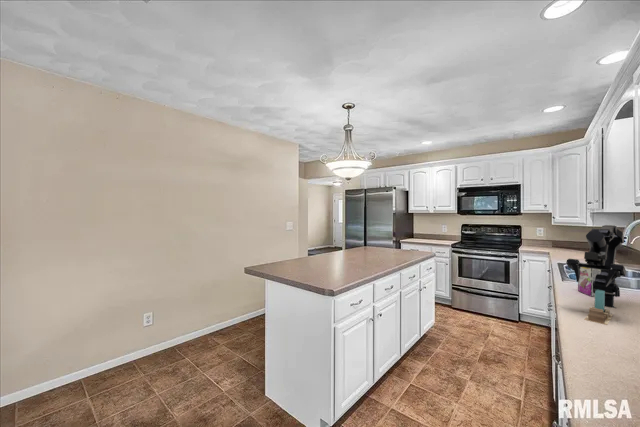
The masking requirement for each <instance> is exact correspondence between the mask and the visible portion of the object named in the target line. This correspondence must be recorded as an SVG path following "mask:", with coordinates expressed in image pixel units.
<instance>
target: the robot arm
mask: <svg viewBox="0 0 640 427" xmlns="http://www.w3.org/2000/svg"><path fill="white" fill-rule="evenodd" d="M585 238H586V241H587V243H588V246H589V251H584V256H583V259H584V261H585V262H580V260H579V259H577V258H567V259H566V262H565V264H566V265H567V267H568V269H571V270H572V271H573V272H574V275H575V279H576V282H577V283H578V282H579V278H580V272H581V271H580V268H581V267H585V268H593V269H600V270H601V273H600V274H597V275H596V277H595V281H593V293H595V291H596V290H603V291H605V306H604V307H607V308H613V309H617V307H616V306H615V298H619V297H621V290H620V287H619V285H618V284H617V281H616V279H617V278H621V277H626V275H627V271H626V268H625V267H626V266H625V265H623V264H617V263H616V255H617V252H618V250H620V249H622V246H623V244H624V242H625V236H624V233H623V231H622V230H619V229H618V227H617V225H610V224H609V225H608V224H605V225H602V226H601V227H600V228H591V230H589V231H588V233H586V234H585Z"/></svg>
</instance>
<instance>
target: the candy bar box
mask: <svg viewBox="0 0 640 427" xmlns="http://www.w3.org/2000/svg"><path fill="white" fill-rule="evenodd" d="M580 271H581V272H580V278H579V282H577V291H578V292H580V293H582V294H584V295H587V296H589V297H591V298H593V297H594V298H595V293H593V281H595V277H596V275H597V274H600V273H601V270H600V269H593V268H585V267H581V268H580Z"/></svg>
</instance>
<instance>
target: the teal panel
mask: <svg viewBox="0 0 640 427" xmlns="http://www.w3.org/2000/svg"><path fill="white" fill-rule="evenodd" d="M594 307H595V308H597V309H602V310H603V312H604V309H605V307H606V306H605V291H603V290H596V291H595V297H594Z"/></svg>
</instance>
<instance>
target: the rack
mask: <svg viewBox="0 0 640 427" xmlns="http://www.w3.org/2000/svg"><path fill="white" fill-rule="evenodd" d="M591 308H595V306H591ZM604 315H606V321H605V322H604V323H600V322H596V321H591V320H588V314H587V315H586V317H585V318H584V321H586V322H591V323H596V324H600V325H604V326H605V325H606V326H608V325H609V323H610V321H611V319H612V317H613V314H611V309H605V308H604Z"/></svg>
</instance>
